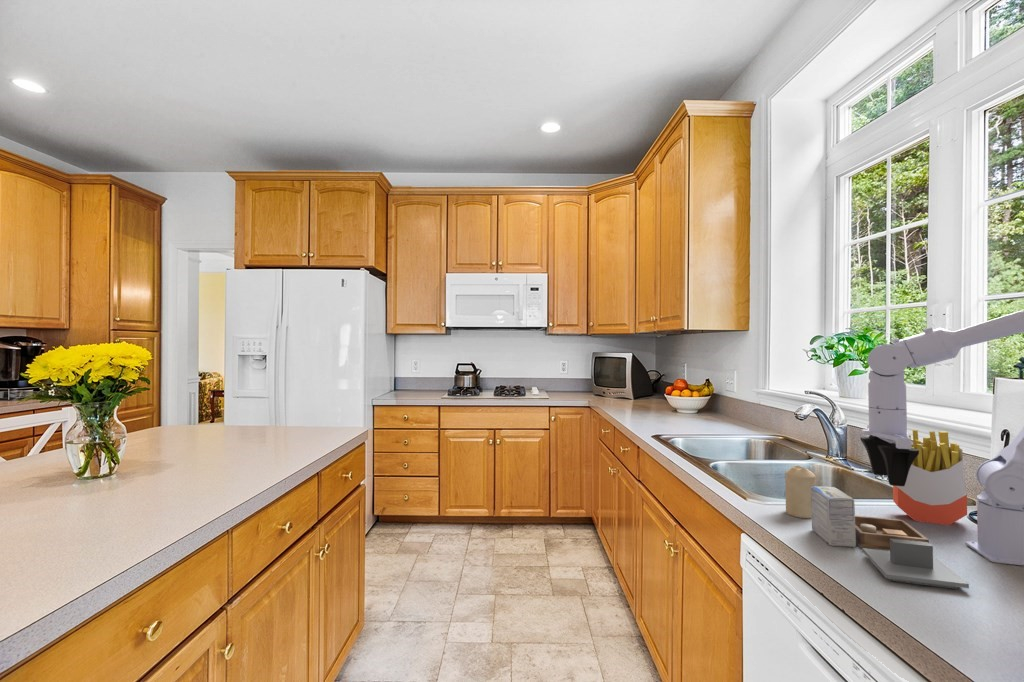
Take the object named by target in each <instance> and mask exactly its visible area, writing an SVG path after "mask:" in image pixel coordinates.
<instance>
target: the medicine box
mask: <svg viewBox="0 0 1024 682" xmlns="http://www.w3.org/2000/svg"><path fill="white" fill-rule="evenodd" d="M855 505H856V504H855V499H854V498H853V497H851V496H850V495H848V494H846V493H845V492H843V491H842V490H840V489H839V488H836V487H835V486H817V485H816V486H815V487H811V509H812V518H811V530H812V531H813V532H814V533H816V534H817V535H818V536H819V537H820V538H821V539H822V540H823V541H824V542H826V543H827V544H828V545H829V546H833V547H846V548H855V547H857V543H856V535H855V516H856V513H855V512H856V511H855V510H856V509H855V508H856V507H855Z"/></svg>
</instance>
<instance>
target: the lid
mask: <svg viewBox="0 0 1024 682" xmlns="http://www.w3.org/2000/svg"><path fill="white" fill-rule="evenodd" d="M861 548H862V549H861V551H862V553H863V554H864V555H865V557H866V558H867V559H868V560H869V561H871V563H872V564H873V565H874V566H875V568H877V570H879V571H880V573H881V575H883V576H884V577H885V579H888V580H890V581H891V582H899V583H905V584H906V583H907V584H913V585H914V584H915V585H923V586H931V587H939V588H946V589H947V588H948V589H958V588H962V589H963V588H964V589H970V583H968V582H967V581H966V580H964V579H963V578H962V577H961V576H960V575H958V574H957V573H956V572H955V571H954V570H952V569H951V568H950V567H949V566H947V565H946V564H945V563H944V562H942V561H941V560H940V559H939V558H938V557H936V556H935V555H934V547H933V545H932V544H931V543H930V542H929V543H928V542H920V541H910V540H900V539H890V550H883V549H874V548H864V547H861Z"/></svg>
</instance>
